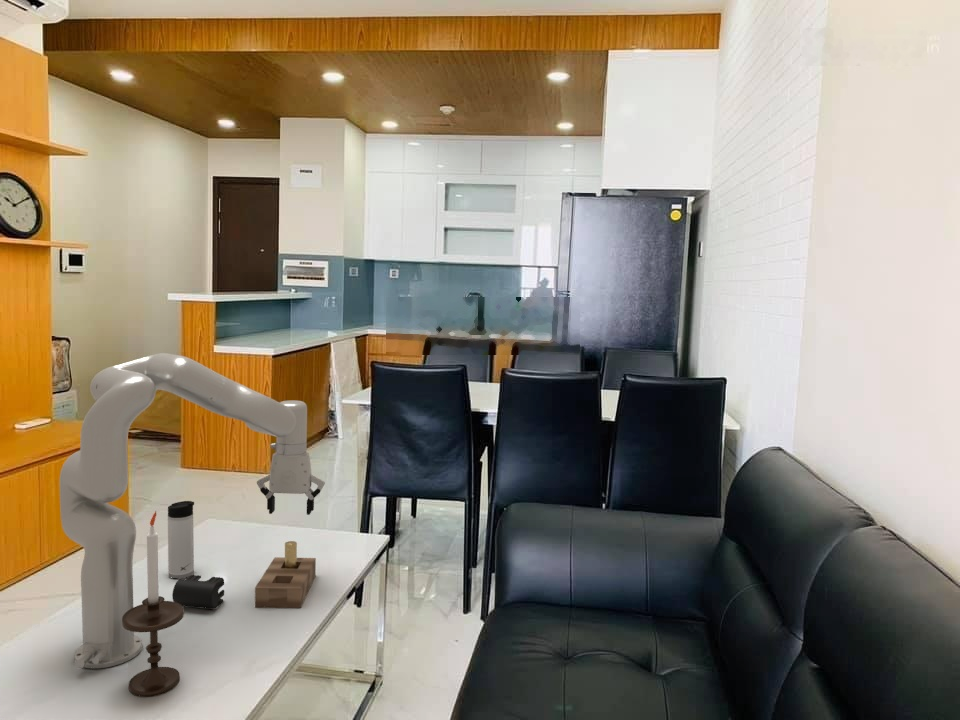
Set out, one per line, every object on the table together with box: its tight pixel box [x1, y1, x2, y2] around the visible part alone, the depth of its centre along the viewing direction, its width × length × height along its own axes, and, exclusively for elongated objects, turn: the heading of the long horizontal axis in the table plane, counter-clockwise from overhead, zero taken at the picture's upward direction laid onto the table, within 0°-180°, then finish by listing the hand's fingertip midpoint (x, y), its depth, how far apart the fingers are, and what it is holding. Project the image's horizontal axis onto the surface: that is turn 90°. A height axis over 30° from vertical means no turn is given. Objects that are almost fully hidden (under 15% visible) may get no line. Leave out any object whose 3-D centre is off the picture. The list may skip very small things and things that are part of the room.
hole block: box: [254, 556, 317, 609], centre depth 178 cm, size 19×11×5 cm, turn 3°
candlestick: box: [122, 510, 185, 698], centre depth 134 cm, size 11×11×35 cm
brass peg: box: [284, 540, 298, 569], centre depth 182 cm, size 3×3×11 cm
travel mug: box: [167, 500, 195, 579], centre depth 185 cm, size 6×7×20 cm
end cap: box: [172, 574, 225, 610], centre depth 168 cm, size 10×7×7 cm
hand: (290, 512), depth 180 cm, fingers open, 9 cm apart
